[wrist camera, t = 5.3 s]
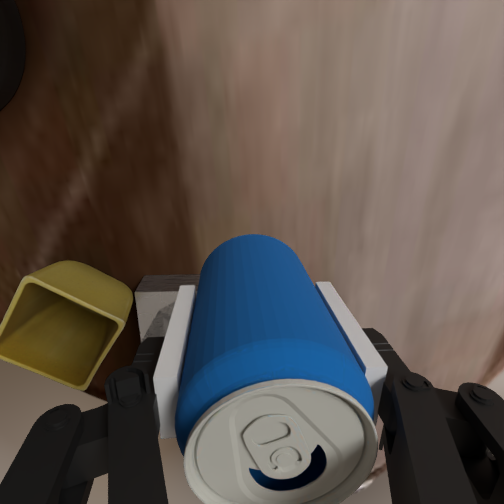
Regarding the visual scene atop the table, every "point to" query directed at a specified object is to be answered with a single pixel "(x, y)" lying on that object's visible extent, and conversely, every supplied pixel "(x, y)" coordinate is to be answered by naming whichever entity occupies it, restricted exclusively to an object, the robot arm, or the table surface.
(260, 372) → the beverage can
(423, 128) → the table surface
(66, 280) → the flower pot
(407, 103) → the table surface
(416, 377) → the robot arm
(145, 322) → the jig
